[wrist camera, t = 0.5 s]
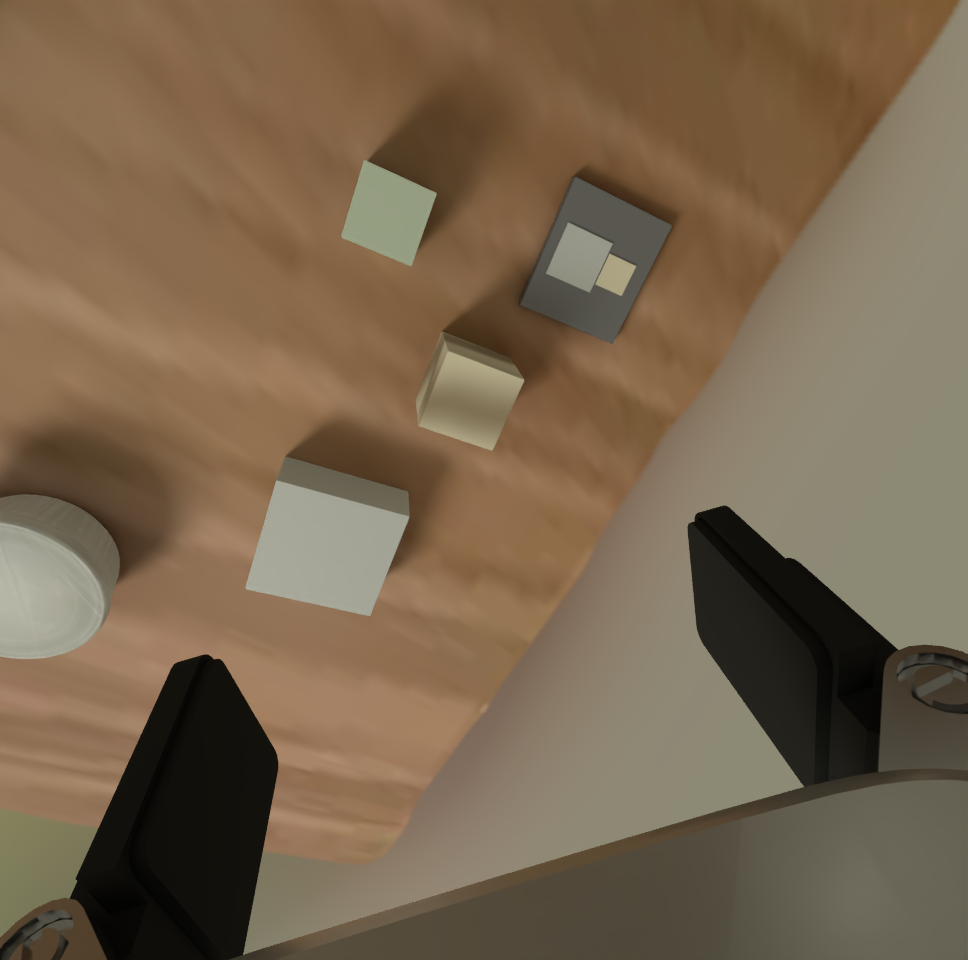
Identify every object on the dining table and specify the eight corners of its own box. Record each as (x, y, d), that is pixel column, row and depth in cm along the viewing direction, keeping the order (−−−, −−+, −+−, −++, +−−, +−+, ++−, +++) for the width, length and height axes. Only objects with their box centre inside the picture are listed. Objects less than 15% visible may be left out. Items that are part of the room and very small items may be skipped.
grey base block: (286, 454, 42) (276, 480, 38) (408, 489, 44) (409, 516, 41) (256, 556, 45) (245, 589, 42) (371, 583, 48) (369, 616, 44)
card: (572, 176, 36) (576, 176, 35) (668, 224, 38) (672, 225, 37) (518, 303, 39) (520, 305, 38) (609, 341, 41) (613, 344, 40)
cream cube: (441, 330, 39) (448, 351, 35) (510, 357, 41) (524, 379, 36) (415, 398, 41) (418, 426, 37) (481, 421, 42) (492, 450, 38)
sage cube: (367, 161, 34) (364, 159, 31) (432, 190, 35) (436, 193, 32) (345, 230, 36) (341, 237, 32) (409, 257, 37) (411, 266, 33)
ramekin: (-83, 512, 40) (-145, 557, 35) (69, 455, 40) (27, 492, 35) (31, 629, 45) (-10, 682, 41) (166, 579, 45) (140, 627, 40)
